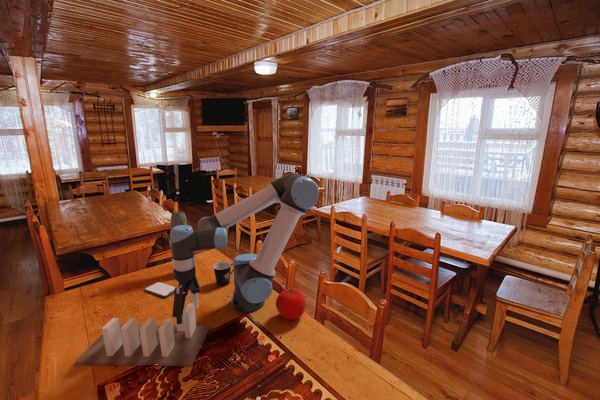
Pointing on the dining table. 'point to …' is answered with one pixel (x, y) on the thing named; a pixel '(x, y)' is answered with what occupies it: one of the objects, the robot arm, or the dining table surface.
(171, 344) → the domino
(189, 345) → the walnut board
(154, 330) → the domino
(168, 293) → the phone case
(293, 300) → the tomato
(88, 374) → the dining table surface
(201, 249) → the robot arm
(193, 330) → the loose domino
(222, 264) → the coffee mug
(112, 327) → the domino
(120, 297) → the dining table surface
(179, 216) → the thermos
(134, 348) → the domino
